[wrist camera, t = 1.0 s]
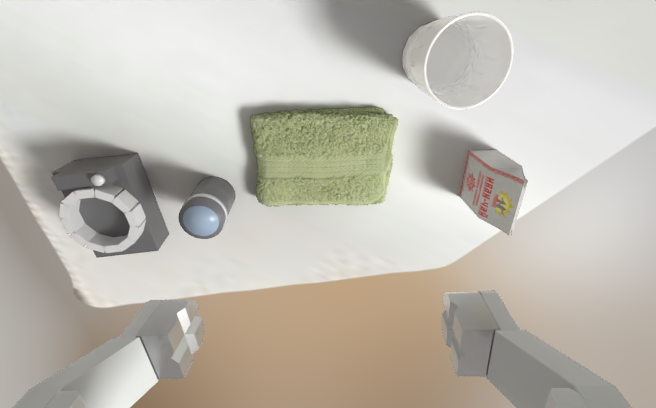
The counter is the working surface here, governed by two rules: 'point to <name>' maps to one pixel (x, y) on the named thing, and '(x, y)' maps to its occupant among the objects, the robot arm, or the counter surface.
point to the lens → (207, 208)
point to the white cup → (459, 58)
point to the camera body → (110, 205)
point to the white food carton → (493, 188)
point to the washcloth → (323, 156)
